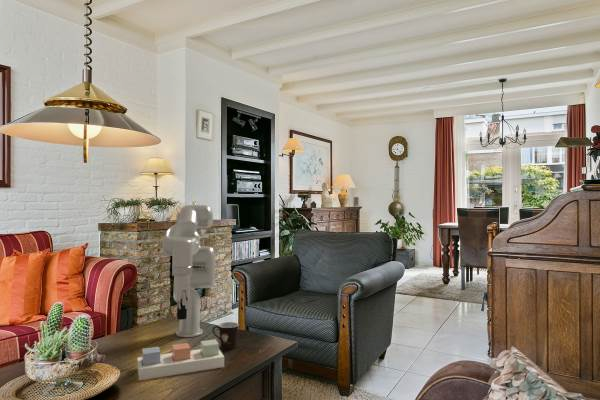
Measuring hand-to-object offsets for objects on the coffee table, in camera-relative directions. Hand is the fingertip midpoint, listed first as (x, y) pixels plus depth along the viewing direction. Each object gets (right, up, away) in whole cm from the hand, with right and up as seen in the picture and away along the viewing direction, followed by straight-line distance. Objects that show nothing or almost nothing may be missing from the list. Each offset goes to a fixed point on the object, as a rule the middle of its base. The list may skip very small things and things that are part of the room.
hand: (181, 318), depth 159 cm
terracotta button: (0, -16, 0) cm, 16 cm away
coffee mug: (+13, -20, +23) cm, 33 cm away
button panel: (0, -19, 0) cm, 19 cm away
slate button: (-10, -16, -5) cm, 19 cm away
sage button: (+10, -16, +4) cm, 19 cm away
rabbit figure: (-40, -19, +4) cm, 45 cm away
